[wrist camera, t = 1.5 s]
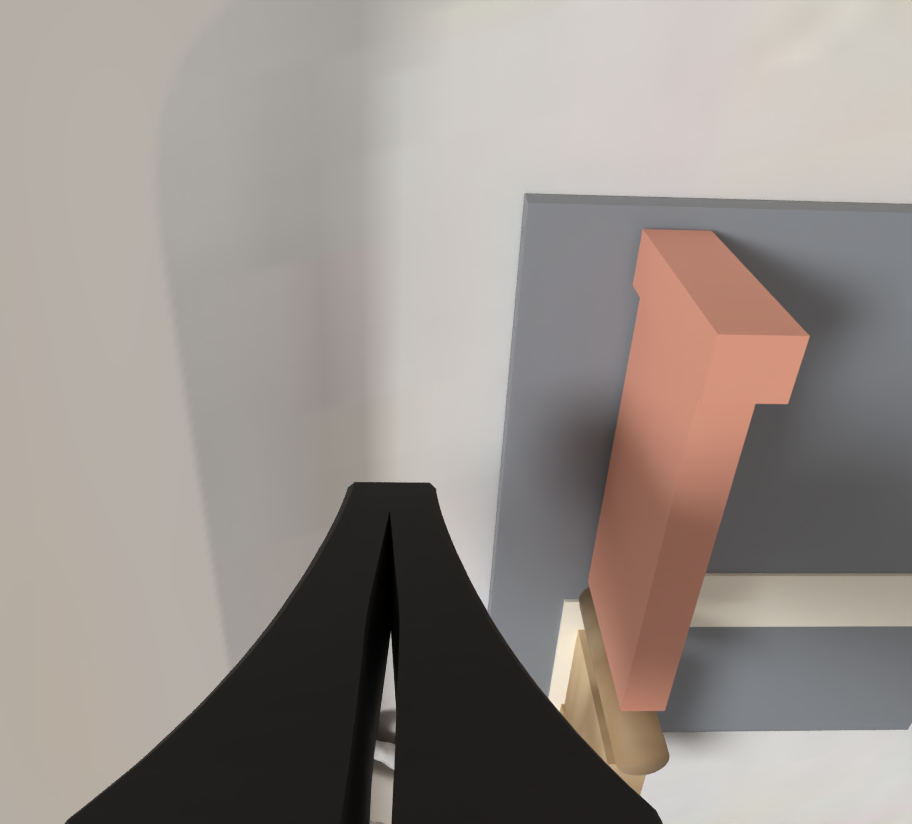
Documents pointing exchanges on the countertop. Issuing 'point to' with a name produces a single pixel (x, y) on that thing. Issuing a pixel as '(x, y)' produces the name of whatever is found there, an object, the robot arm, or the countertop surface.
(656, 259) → the fence panel
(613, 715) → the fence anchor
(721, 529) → the board
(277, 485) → the countertop surface
